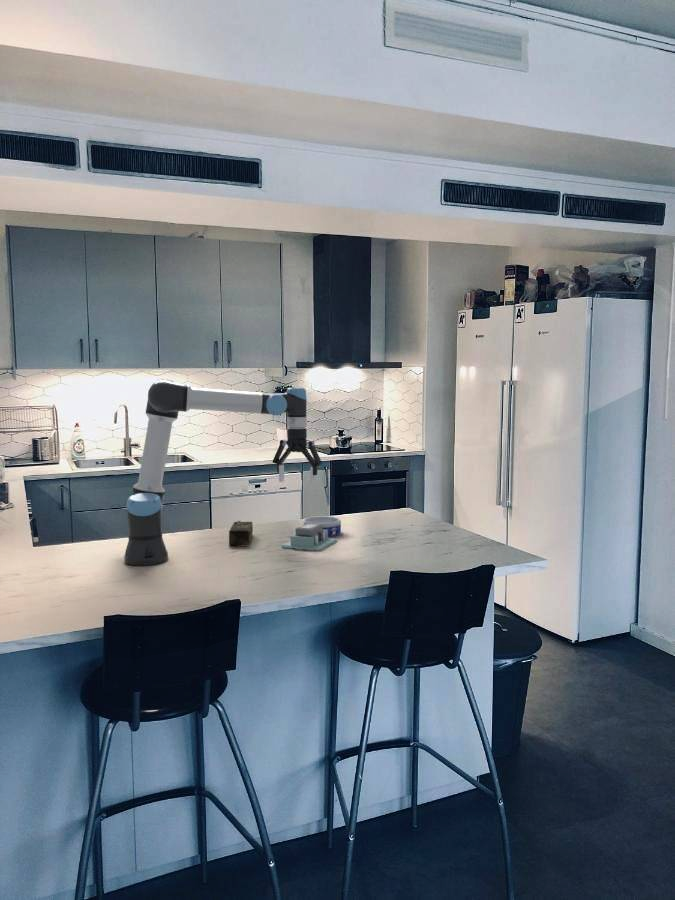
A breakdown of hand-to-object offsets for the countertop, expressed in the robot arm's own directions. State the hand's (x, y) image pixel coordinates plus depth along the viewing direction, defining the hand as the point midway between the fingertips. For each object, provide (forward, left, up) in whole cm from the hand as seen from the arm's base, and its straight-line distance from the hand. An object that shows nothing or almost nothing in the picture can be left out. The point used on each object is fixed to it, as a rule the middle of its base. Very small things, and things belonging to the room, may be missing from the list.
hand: (297, 482), depth 281 cm
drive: (+6, -3, -22) cm, 23 cm away
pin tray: (+6, -3, -23) cm, 24 cm away
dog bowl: (+3, +16, -24) cm, 29 cm away
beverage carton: (-22, -6, -24) cm, 33 cm away
